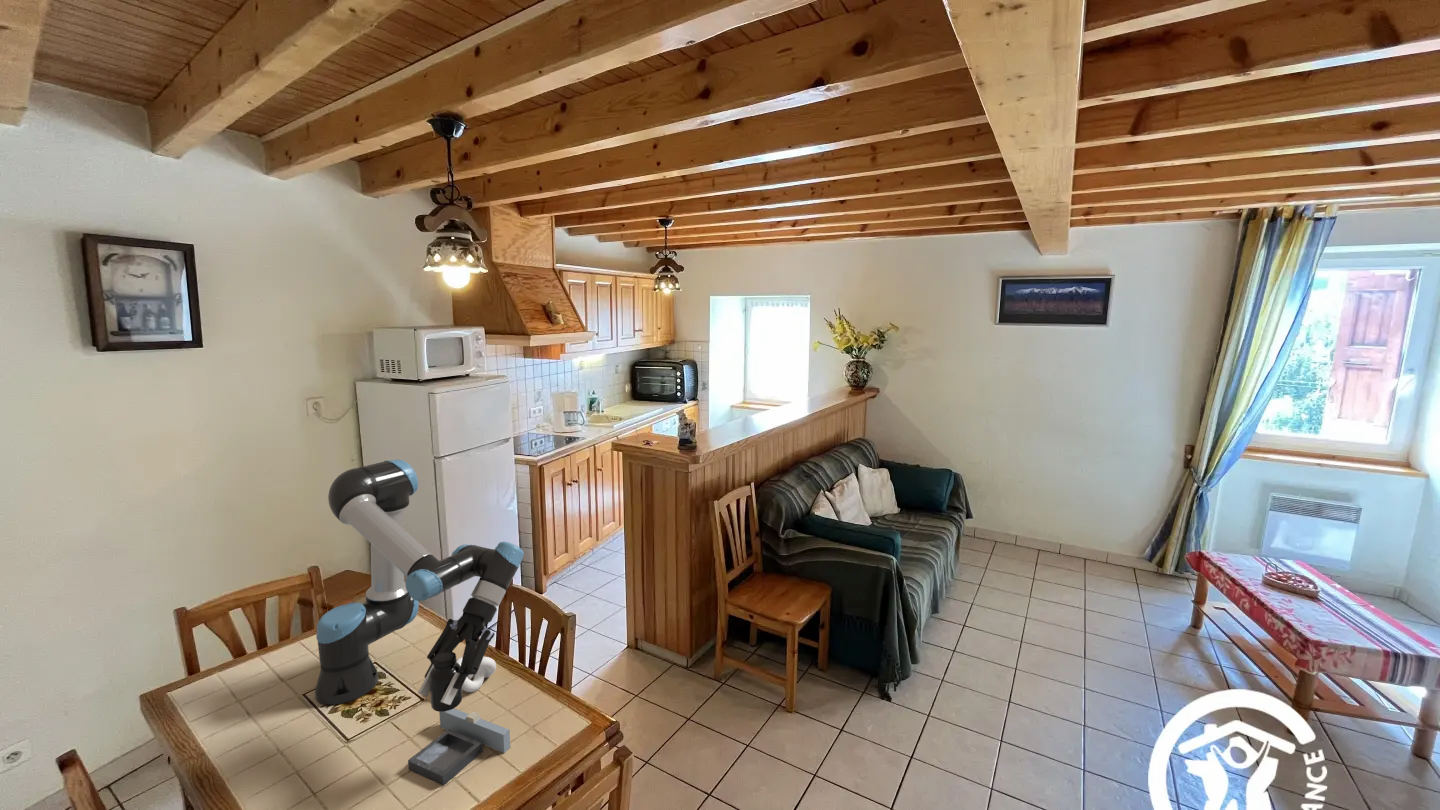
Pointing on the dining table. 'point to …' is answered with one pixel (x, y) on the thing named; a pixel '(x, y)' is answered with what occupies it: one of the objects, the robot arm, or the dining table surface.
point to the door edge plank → (476, 728)
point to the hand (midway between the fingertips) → (433, 698)
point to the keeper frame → (445, 756)
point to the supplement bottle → (443, 681)
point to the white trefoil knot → (478, 674)
